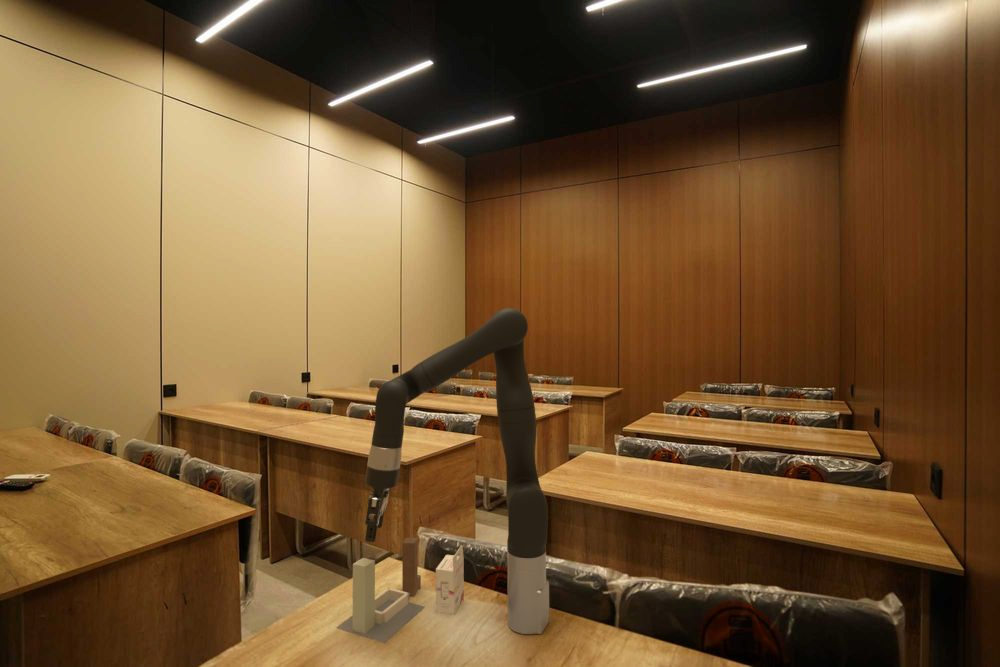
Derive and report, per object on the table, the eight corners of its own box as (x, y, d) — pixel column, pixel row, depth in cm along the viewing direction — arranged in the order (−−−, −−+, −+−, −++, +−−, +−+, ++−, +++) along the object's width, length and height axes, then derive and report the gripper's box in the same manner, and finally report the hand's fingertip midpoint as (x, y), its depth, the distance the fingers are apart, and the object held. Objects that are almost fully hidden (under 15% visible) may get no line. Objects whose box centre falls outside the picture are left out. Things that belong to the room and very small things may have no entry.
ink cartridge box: (445, 599, 125) (445, 542, 125) (464, 601, 124) (464, 543, 124) (435, 617, 116) (435, 556, 117) (454, 619, 115) (454, 558, 116)
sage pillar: (374, 625, 111) (374, 560, 111) (364, 634, 107) (364, 566, 108) (362, 622, 112) (363, 557, 113) (352, 630, 109) (352, 563, 109)
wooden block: (414, 601, 124) (414, 542, 124) (402, 600, 124) (402, 542, 124) (420, 588, 130) (420, 533, 131) (409, 588, 130) (409, 532, 131)
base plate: (425, 611, 119) (425, 596, 119) (384, 648, 104) (384, 631, 104) (380, 599, 125) (380, 585, 125) (335, 633, 110) (335, 616, 110)
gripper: (395, 474, 105) (384, 548, 104) (403, 459, 119) (394, 524, 119) (361, 470, 105) (350, 544, 104) (373, 455, 119) (364, 521, 118)
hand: (373, 533), depth 111 cm, fingers open, 8 cm apart
